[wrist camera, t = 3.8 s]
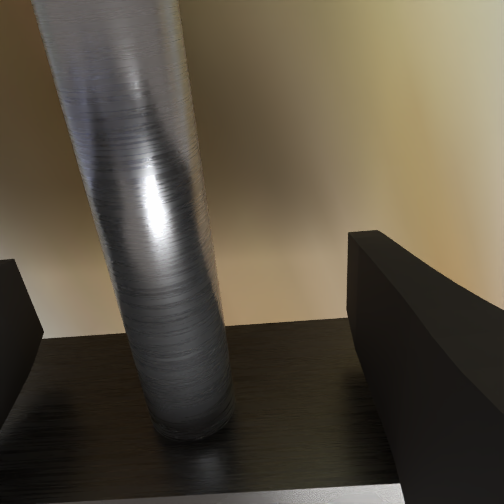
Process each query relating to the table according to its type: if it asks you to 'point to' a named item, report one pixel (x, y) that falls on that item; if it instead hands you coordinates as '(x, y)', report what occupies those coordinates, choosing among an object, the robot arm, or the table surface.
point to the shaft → (175, 316)
